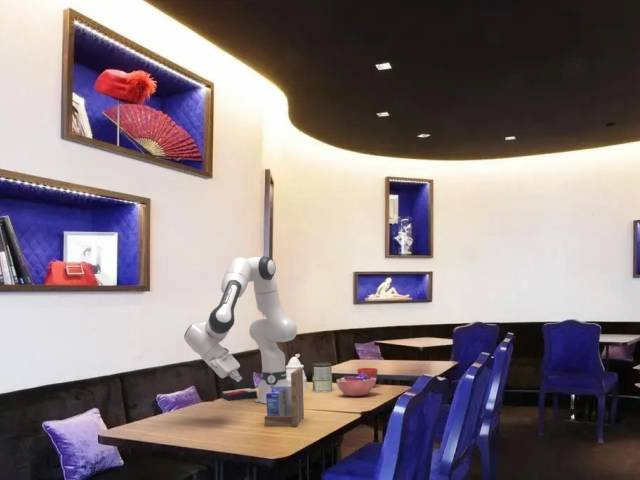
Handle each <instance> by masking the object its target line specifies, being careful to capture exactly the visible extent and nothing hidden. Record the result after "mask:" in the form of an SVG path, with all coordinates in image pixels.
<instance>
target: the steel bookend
mask: <svg viewBox="0 0 640 480" xmlns="http://www.w3.org/2000/svg"><path fill="white" fill-rule="evenodd" d="M272 388H273V387H272ZM274 388H275V389H284V401H285V416H292V395H291V386H279V387H274ZM271 390H272V389H271Z"/></svg>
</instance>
